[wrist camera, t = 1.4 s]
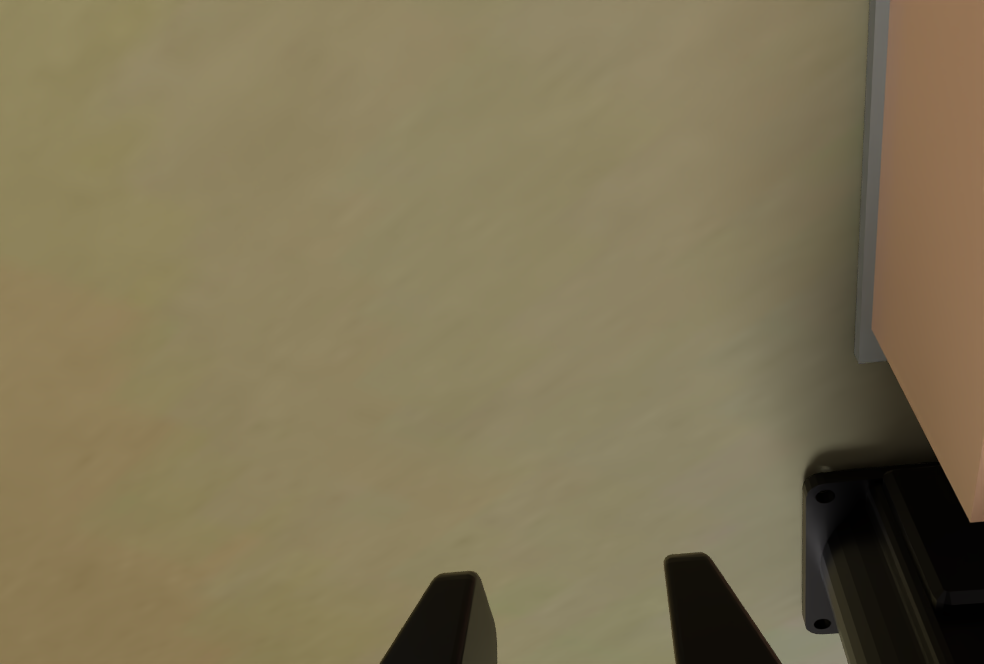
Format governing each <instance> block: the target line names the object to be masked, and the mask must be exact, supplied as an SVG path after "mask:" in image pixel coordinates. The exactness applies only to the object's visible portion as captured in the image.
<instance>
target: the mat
mask: <svg viewBox="0 0 984 664" xmlns="http://www.w3.org/2000/svg"><path fill="white" fill-rule="evenodd" d="M889 11H890V0H870V2H869V25H868V48H867V71H866V93H865V116H864V139H863V162H862V185H861V207H860V230H859V253H858V276H857V299H856V321H855V344H854V355H855V357H856V359H857V361H858V364H863V363H872V362H880V361H888V360H887V359H886V357H885V355H884V353H883V351H882V349H881V347H880V345H879V343H878V341H877V339H876V337H875V335H874V333H873V331H872V329H871V328H872V311H873V293H874V275H875V258H876V240H877V223H878V205H879V187H880V170H881V152H882V135H883V117H884V99H885V82H886V64H887V46H888V29H889Z"/></svg>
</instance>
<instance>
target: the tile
mask: <svg viewBox="0 0 984 664" xmlns="http://www.w3.org/2000/svg"><path fill="white" fill-rule="evenodd" d="M871 329H872V331H873V333H874V335H875V337H876V339H877V341H878V343H879V345H880V347H881V349H882V351H883V353H884V355H885V357H886V359H887V360H888V362H889V364H890V366H891V368H892V370H893V372H894V374H895V376H896V378H897V380H898V382H899V384H900V386H901V388H902V390H903V392H904V394H905V396H906V398H907V400H908V402H909V404H910V406H911V408H912V409H913V411H914V413H915V415H916V417H917V419H918V421H919V423H920V425H921V427H922V429H923V431H924V433H925V435H926V437H927V439H928V441H929V443H930V445H931V447H932V449H933V451H934V453H935V455H936V456H937V458H938V460H939V462H940V464H941V466H942V468H943V470H944V472H945V474H946V476H947V478H948V480H949V482H950V484H951V486H952V488H953V490H954V492H955V494H956V496H957V498H958V500H959V502H960V503H961V505H962V507H963V509H964V511H965V513H966V515H967V517H968V519H969V521H970V523H971V522H983V521H984V0H890V11H889V29H888V46H887V64H886V82H885V99H884V117H883V135H882V152H881V170H880V187H879V205H878V223H877V240H876V258H875V275H874V293H873V311H872V328H871Z"/></svg>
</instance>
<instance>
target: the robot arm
mask: <svg viewBox="0 0 984 664" xmlns="http://www.w3.org/2000/svg"><path fill="white" fill-rule="evenodd" d="M823 490H828V491H826V492H822V493H819V492H820V491H823ZM664 571H665V579H666V587H667V596H668V604H669V612H670V621H671V629H672V638H673V646H674V654H675V662H676V664H782V663H781V661H780V660H779V659H778V657H777V656H776V654H775V653H774V651H773V650H772V648H771V647H770V645H769V644H768V642H767V641H766V639H765V638H764V636H763V635H762V633H761V632H760V630H759V629H758V627H757V626H756V624H755V623H754V621H753V620H752V618H751V617H750V615H749V614H748V612H747V611H746V610H745V608H744V607H743V605H742V604H741V602H740V601H739V599H738V598H737V596H736V595H735V593H734V592H733V590H732V589H731V587H730V586H729V584H728V583H727V581H726V580H725V578H724V577H723V575H722V574H721V572H720V571H719V569H718V568H717V566H716V565H715V564H714V562H713V561H712V559H711V558H710V557H709V556H708V555H707V554H705V553H702V552H697V553H684V554H672V555H669V556H667V557H666V558H665V560H664ZM802 615H803V619H804V622H805V626H806V629H807V630H808V631H810V632H812V633H815V634H833V633H839V635H840V638H841V641H842V645H843V648H844V651H845V655H846V658H847V661H848V664H984V521H983V522H971V523H970V521H969V519H968V517H967V515H966V513H965V511H964V509H963V507H962V505H961V503H960V502H959V500H958V498H957V496H956V494H955V492H954V490H953V488H952V486H951V484H950V482H949V480H948V478H947V476H946V474H945V472H944V470H943V468H942V466H941V464H940V462H931V463H921V464H910V465H899V466H889V467H878V468H867V469H857V470H846V471H835V472H825V473H819V474H814V475H813V476H811V477H809V478H808V479H807V480H806V481H805V482H804V485H803V538H802ZM380 664H497V637H496V628H495V623H494V619H493V616H492V613H491V610H490V607H489V603H488V600H487V597H486V594H485V591H484V588H483V584H482V581H481V579H480V577H479V576H478V574H477V573H476V572H474V571H463V572H451V573H442V574H439V575H438V576H436V577H435V578H434V579H433V580H432V582H431V583H430V585H429V587H428V588H427V590H426V591H425V593H424V594H423V596H422V598H421V599H420V601H419V602H418V604H417V606H416V607H415V609H414V610H413V612H412V613H411V615H410V617H409V618H408V620H407V621H406V623H405V624H404V626H403V628H402V629H401V631H400V632H399V634H398V635H397V637H396V639H395V640H394V642H393V643H392V645H391V647H390V648H389V650H388V651H387V653H386V654H385V656H384V658H383V659H382V661H381V662H380Z"/></svg>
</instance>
